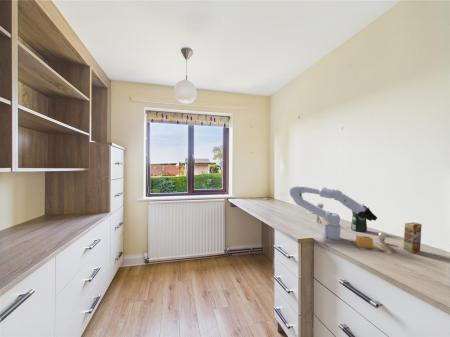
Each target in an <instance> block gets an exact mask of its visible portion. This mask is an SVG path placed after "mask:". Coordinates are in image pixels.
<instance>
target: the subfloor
mask: <svg viewBox="0 0 450 337" xmlns="http://www.w3.org/2000/svg"><path fill="white" fill-rule="evenodd" d="M349 241H350V243H351V244H352V245H353V246H354V247H355V248H356V249H358V250H359V251H369V252H377V253H386V254H387V255H389V256H390V255H391V256H395V255H402V253H401V252H400V251H399V250H397V249H396V248H394V247H392V246H391V245H389V244H385V243H384V244H383V243H378V242H375V241H373V248H367V247H358V246H357V245H356V240H355V241H354V240H349Z"/></svg>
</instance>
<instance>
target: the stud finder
mask: <svg viewBox="0 0 450 337" xmlns="http://www.w3.org/2000/svg"><path fill="white" fill-rule="evenodd" d="M355 242H356V245H357V246H358V247H367V248H373V242H374V239H373V238H372V237H371V236H366V235H358V234H357V235H355Z"/></svg>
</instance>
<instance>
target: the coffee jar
mask: <svg viewBox="0 0 450 337" xmlns="http://www.w3.org/2000/svg"><path fill="white" fill-rule="evenodd" d="M363 207H364V208H365V209H367V208H368V207H367V206H366V205H364V206H363ZM351 213H352V216H351V217H352V218H351V225H350V228H351V230H352V231H354V232H355V231H356V232H368V225H367V219H365V218H363V217H360V216H357V215H358V214H356V213H355V212H353V211H352V210H351Z"/></svg>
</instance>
